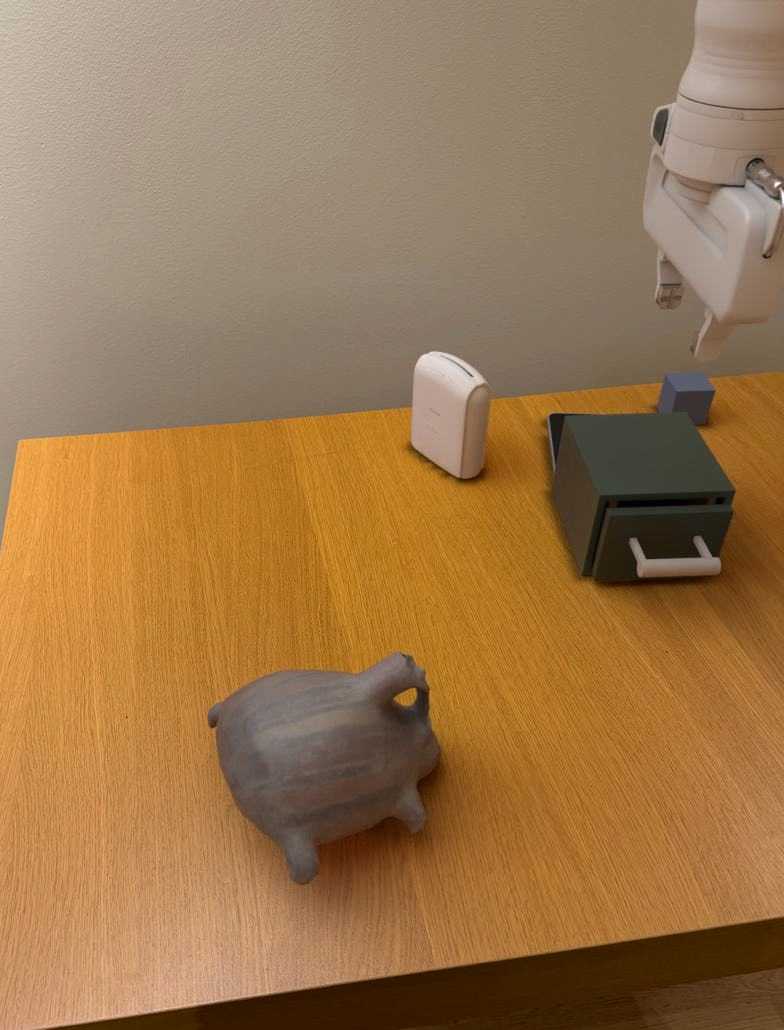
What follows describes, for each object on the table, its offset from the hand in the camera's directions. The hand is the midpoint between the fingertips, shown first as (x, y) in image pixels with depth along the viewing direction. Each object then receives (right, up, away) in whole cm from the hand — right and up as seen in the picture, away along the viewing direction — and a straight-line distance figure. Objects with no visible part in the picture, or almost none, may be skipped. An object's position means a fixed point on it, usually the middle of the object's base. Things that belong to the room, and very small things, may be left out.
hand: (683, 330), depth 74 cm
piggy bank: (-28, -38, -1) cm, 47 cm away
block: (+16, +3, +40) cm, 43 cm away
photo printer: (-14, -4, +34) cm, 37 cm away
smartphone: (+2, -3, +34) cm, 34 cm away
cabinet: (+3, -13, +23) cm, 27 cm away
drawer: (+3, -16, +19) cm, 25 cm away
